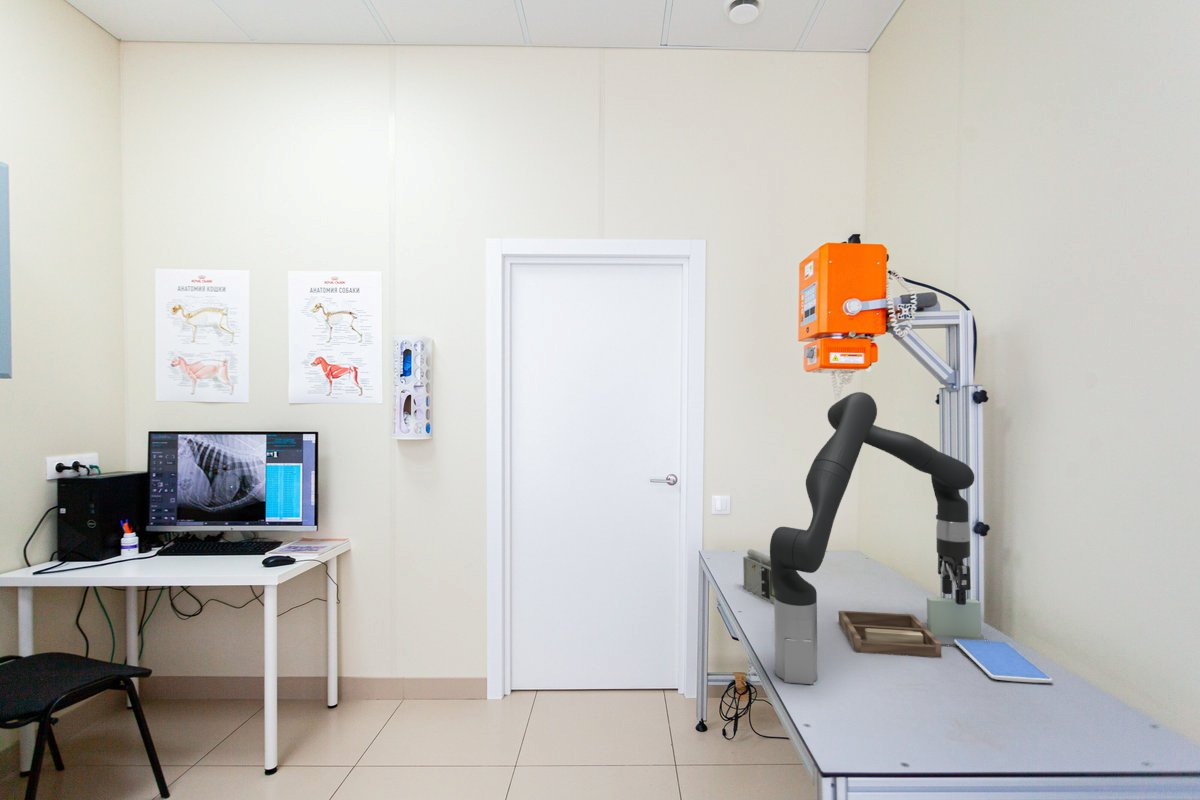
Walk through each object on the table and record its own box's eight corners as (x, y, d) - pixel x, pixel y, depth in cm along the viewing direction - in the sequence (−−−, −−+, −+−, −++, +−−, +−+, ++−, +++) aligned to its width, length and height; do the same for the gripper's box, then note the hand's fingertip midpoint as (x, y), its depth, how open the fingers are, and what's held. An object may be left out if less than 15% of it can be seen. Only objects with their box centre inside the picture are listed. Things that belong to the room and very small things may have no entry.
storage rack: (941, 657, 138) (941, 643, 138) (855, 652, 142) (855, 638, 142) (913, 627, 157) (913, 614, 157) (838, 622, 160) (838, 610, 160)
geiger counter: (739, 547, 190) (789, 567, 167) (755, 545, 192) (807, 564, 169) (740, 589, 190) (790, 615, 167) (756, 586, 192) (807, 611, 169)
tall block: (980, 637, 148) (980, 602, 148) (930, 634, 150) (930, 600, 151) (976, 633, 151) (976, 599, 151) (927, 630, 153) (926, 597, 153)
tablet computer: (952, 642, 145) (952, 637, 145) (1006, 645, 143) (1006, 640, 143) (991, 681, 126) (991, 676, 126) (1055, 685, 124) (1055, 679, 124)
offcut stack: (923, 653, 141) (923, 635, 141) (867, 649, 143) (866, 631, 143) (917, 646, 145) (917, 628, 145) (862, 642, 147) (862, 625, 147)
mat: (996, 649, 142) (996, 647, 142) (935, 645, 145) (935, 643, 145) (970, 627, 156) (970, 625, 156) (915, 624, 159) (915, 622, 159)
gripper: (981, 544, 143) (982, 609, 143) (957, 531, 157) (957, 591, 157) (948, 543, 144) (949, 607, 144) (927, 530, 158) (928, 589, 158)
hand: (953, 598), depth 150 cm, fingers open, 8 cm apart
